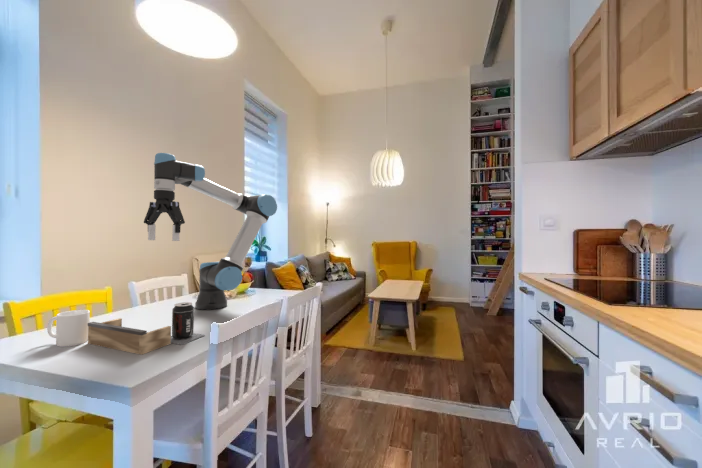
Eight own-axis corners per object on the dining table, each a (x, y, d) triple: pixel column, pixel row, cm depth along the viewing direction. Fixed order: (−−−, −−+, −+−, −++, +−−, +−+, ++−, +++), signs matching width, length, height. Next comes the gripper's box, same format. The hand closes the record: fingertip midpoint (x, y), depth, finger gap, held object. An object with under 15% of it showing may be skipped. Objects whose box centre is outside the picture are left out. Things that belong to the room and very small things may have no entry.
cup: (76, 346, 98) (77, 315, 98) (35, 347, 97) (36, 316, 97) (95, 338, 107) (95, 309, 107) (57, 338, 105) (58, 310, 105)
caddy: (119, 334, 111) (119, 315, 111) (170, 343, 102) (171, 323, 102) (87, 343, 101) (87, 323, 101) (141, 354, 93) (141, 332, 93)
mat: (184, 332, 114) (184, 331, 114) (204, 335, 111) (204, 334, 111) (159, 341, 105) (159, 340, 105) (181, 345, 102) (181, 343, 102)
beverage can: (195, 337, 107) (196, 304, 108) (173, 342, 103) (174, 307, 103) (191, 333, 113) (191, 301, 113) (170, 336, 108) (170, 303, 108)
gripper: (134, 190, 127) (133, 239, 127) (179, 188, 120) (178, 241, 119) (151, 192, 134) (150, 239, 134) (194, 190, 127) (193, 241, 127)
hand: (163, 240), depth 127 cm, fingers open, 13 cm apart
